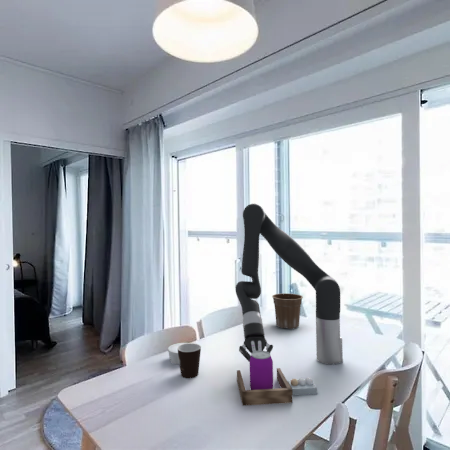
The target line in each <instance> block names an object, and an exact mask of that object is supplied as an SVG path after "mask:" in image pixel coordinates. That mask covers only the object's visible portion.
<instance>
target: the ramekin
mask: <svg viewBox="0 0 450 450" xmlns="http://www.w3.org/2000/svg"><path fill="white" fill-rule="evenodd" d="M187 343H188V342H179V343H174V344H171V345H169V346H168V347H167V353H168V356H169V361H170V362H171V363H172V364H173V365H179V366H180V364H179V356H178V347H179V346H180V345H182V344H187Z"/></svg>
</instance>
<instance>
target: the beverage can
mask: <svg viewBox="0 0 450 450" xmlns="http://www.w3.org/2000/svg"><path fill="white" fill-rule="evenodd" d="M250 355H251V354H250ZM248 362H249V390H260V389H274V361H273V358H272V356H271V352H270V353H269V352H267V350H263V351H254V352H253V353H252V355H251V358H250V361H248Z"/></svg>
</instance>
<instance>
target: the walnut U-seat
mask: <svg viewBox="0 0 450 450" xmlns="http://www.w3.org/2000/svg"><path fill="white" fill-rule="evenodd" d="M276 381H277V383H278V385H279V386H280V388H278V387H277V388H273V389H260V390H251V389H246V386H245V383H244V380H243V376H242V371H241V370H240V369H238V370H236V382H237V387H238V392H239V396H240V400H241V404H242V406H261V405H262V406H263V405H275V404H276V405H277V404H290V403H291V404H292V403H293V395H292V389H291V387H290V385H289V383H288V382H287V378H286V376H285V374H284V373H283V371H282V369H281V368H280V367H277V368H276Z"/></svg>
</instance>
